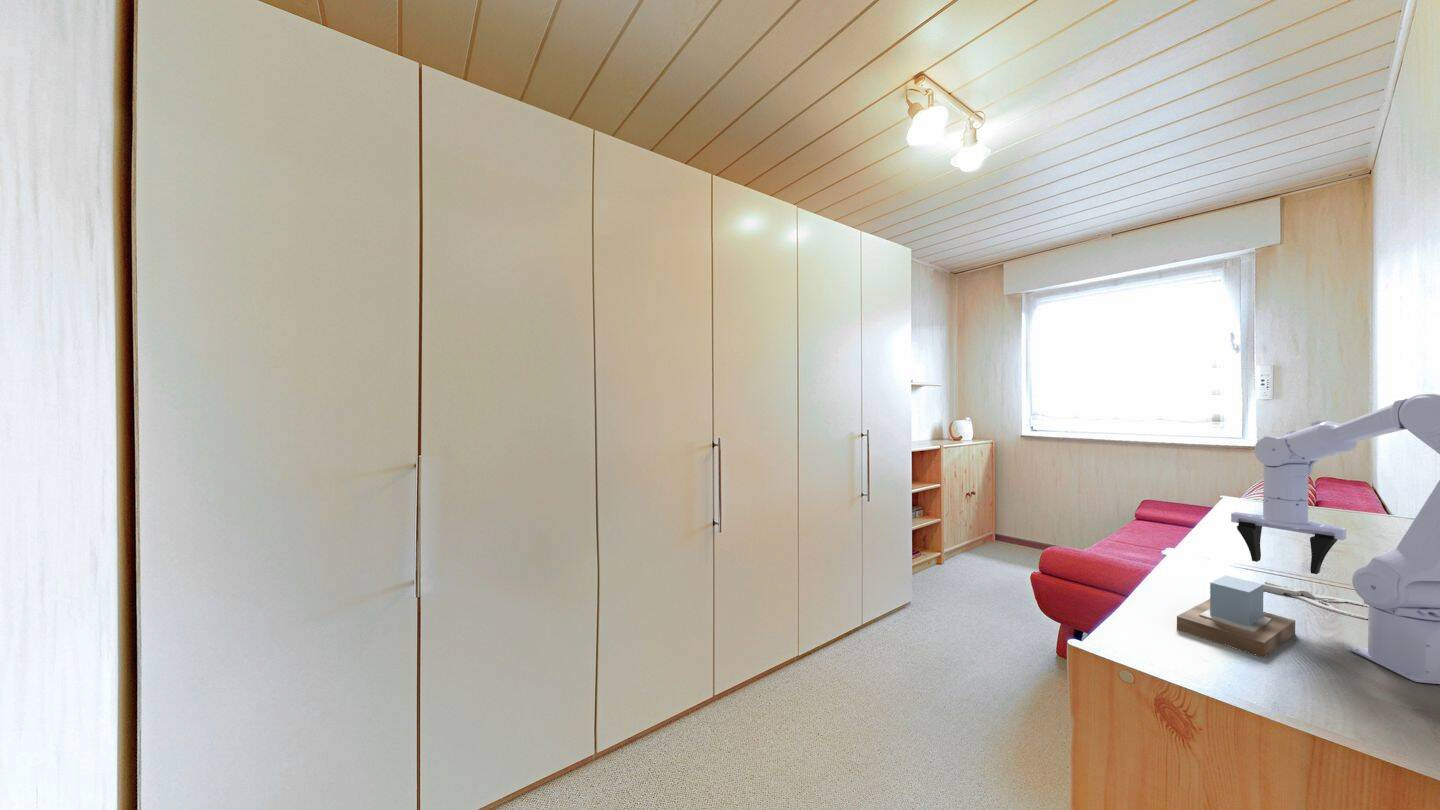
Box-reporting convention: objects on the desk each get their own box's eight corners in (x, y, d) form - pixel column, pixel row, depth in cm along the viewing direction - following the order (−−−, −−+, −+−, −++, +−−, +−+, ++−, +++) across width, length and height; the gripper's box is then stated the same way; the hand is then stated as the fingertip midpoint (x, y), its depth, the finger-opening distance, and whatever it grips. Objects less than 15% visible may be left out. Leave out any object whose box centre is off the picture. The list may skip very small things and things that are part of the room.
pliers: (1370, 614, 91) (1255, 586, 104) (1369, 622, 91) (1255, 594, 104) (1382, 603, 95) (1270, 578, 109) (1382, 610, 95) (1270, 585, 109)
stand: (1211, 610, 96) (1211, 596, 96) (1295, 633, 86) (1295, 618, 86) (1176, 629, 89) (1176, 614, 89) (1263, 657, 79) (1263, 641, 79)
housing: (1249, 626, 84) (1249, 592, 84) (1210, 614, 88) (1210, 582, 88) (1264, 615, 88) (1265, 583, 88) (1226, 605, 92) (1226, 574, 92)
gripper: (1351, 502, 89) (1350, 574, 89) (1240, 489, 102) (1239, 552, 102) (1340, 507, 86) (1339, 582, 86) (1227, 493, 99) (1226, 558, 99)
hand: (1284, 566), depth 94 cm, fingers open, 7 cm apart
